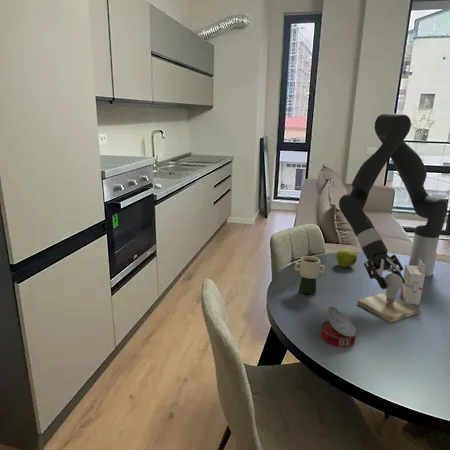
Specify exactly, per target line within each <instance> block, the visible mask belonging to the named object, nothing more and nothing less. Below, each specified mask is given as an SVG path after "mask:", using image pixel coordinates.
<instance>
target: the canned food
mask: <svg viewBox="0 0 450 450" xmlns="http://www.w3.org/2000/svg"><path fill="white" fill-rule="evenodd" d="M326 313H327V314H326V315H327V316H326V317H327V319H328V320H326V321H325V322H323V323H322V324H321V331H320V338H321V339H322V340H323V341H324V342H325V343H327V344H328V345H330V346H332V347H333V346H334V347H338V348H349V347H351V346H353V345H354V344H355V342H356V337H357V336H356V334H357V330H356V327H355V326H354V325H353V323H352V322H351V320H350V319H348V318H347V316H345V315H344V314H343V313H342V312H341V311H339V310H338V309H337V308H336V307H335V306H329V307H328V309H327V312H326Z"/></svg>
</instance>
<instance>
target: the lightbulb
mask: <svg viewBox="0 0 450 450" xmlns="http://www.w3.org/2000/svg"><path fill="white" fill-rule="evenodd" d="M383 278H384V280H385V282H386V283H387V285H388V288H386V289H385V293H386V296H387V298H386V301H387V302H388V303H389V304H392V303H394V300H395V298H397V295H398V292H399V291H401V287H402V285H403V281H402V278H401V277H400V276H399V275H397V274H394V273H388V274H387V275H385V276H384V277H383Z"/></svg>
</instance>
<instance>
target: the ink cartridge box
mask: <svg viewBox="0 0 450 450" xmlns="http://www.w3.org/2000/svg"><path fill="white" fill-rule="evenodd" d="M421 265H422V266H423V268H422V266H421ZM425 268H426V267H425V265H424V264H423V262H422V261H421V260H420V259H419V266H411V265H409V264H405V265H404V268H403V270H404V271H403V275H402V276H403V278H404V281H405V283H404V284H403V285H402V287H401V289H400V295H401V297H402V299H403V302H405V303H408V304H410V305H418V306H419V305H421V298H422V294H423V286H424V283H425V278H426V277H425Z"/></svg>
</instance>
